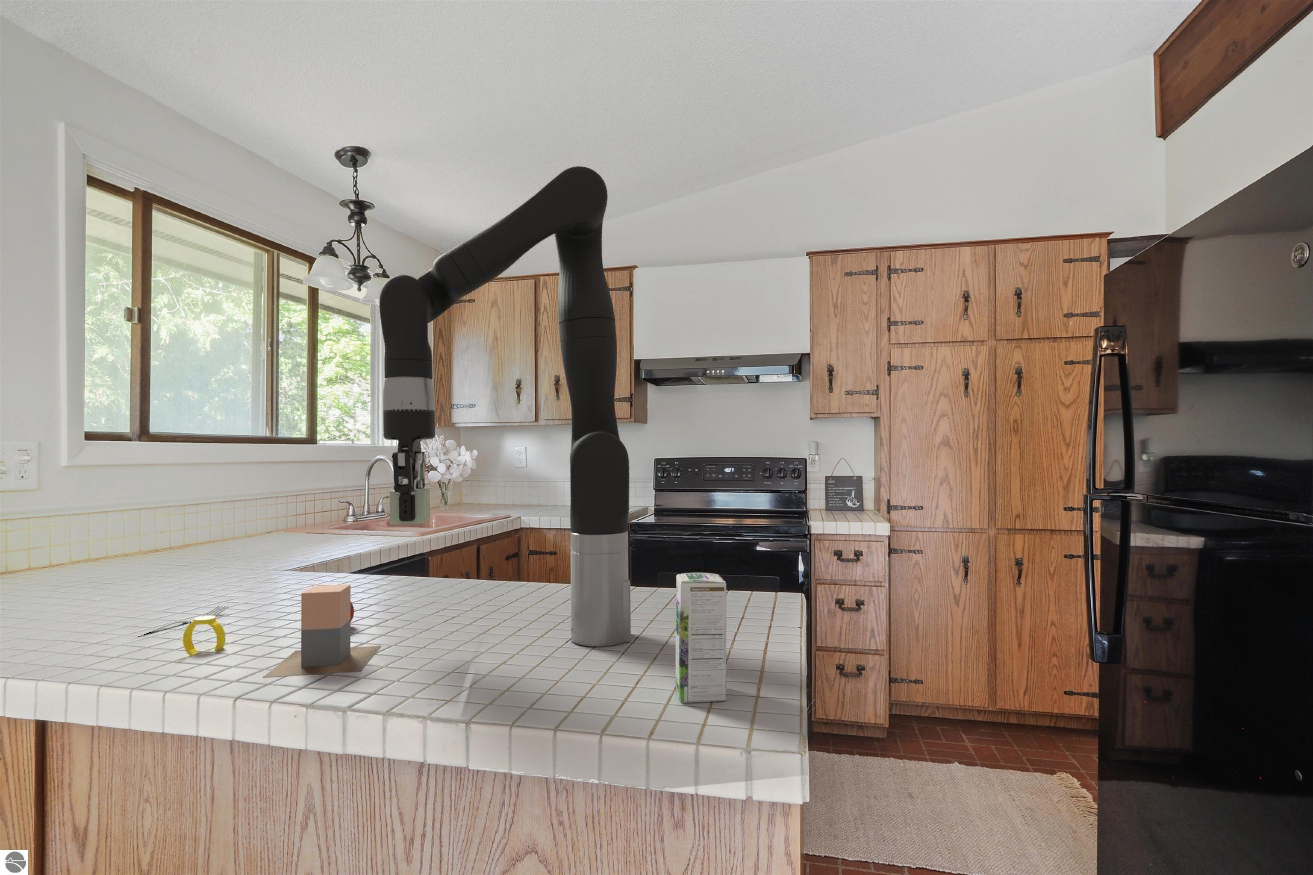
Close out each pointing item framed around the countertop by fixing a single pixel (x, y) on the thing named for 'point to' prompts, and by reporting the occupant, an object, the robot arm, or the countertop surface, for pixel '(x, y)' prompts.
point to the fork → (188, 622)
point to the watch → (203, 620)
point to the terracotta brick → (325, 607)
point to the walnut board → (350, 664)
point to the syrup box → (700, 637)
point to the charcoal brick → (325, 646)
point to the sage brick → (420, 507)
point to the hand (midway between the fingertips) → (410, 518)
